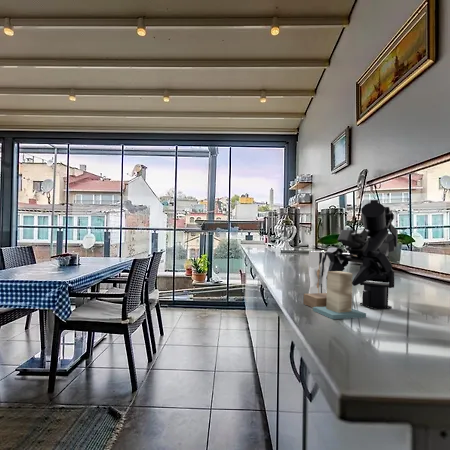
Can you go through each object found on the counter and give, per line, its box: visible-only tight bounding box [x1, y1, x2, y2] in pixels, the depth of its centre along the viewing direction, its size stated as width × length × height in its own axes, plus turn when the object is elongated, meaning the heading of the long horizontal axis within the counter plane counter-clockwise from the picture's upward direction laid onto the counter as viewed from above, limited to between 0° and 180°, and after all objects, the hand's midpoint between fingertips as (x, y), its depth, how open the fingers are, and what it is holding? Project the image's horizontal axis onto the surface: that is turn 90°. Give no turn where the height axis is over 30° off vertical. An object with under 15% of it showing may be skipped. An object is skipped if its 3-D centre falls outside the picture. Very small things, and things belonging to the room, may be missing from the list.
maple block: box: [326, 271, 354, 313], centre depth 92 cm, size 4×4×10 cm
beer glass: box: [307, 250, 330, 294], centre depth 119 cm, size 7×7×15 cm
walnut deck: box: [302, 292, 327, 309], centre depth 101 cm, size 8×7×3 cm
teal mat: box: [312, 307, 367, 320], centre depth 91 cm, size 10×9×1 cm
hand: (339, 281), depth 92 cm, fingers open, 9 cm apart
